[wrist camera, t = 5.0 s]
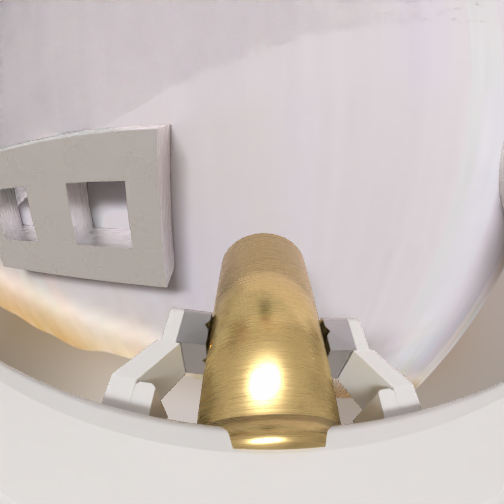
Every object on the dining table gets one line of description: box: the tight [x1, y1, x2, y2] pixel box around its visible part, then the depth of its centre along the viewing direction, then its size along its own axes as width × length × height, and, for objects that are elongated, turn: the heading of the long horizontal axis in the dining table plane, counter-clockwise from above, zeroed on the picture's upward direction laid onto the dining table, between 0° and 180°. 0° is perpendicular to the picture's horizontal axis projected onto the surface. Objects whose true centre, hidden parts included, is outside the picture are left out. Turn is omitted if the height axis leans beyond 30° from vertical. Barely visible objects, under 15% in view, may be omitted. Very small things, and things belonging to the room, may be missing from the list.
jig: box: [0, 124, 175, 287], centre depth 18 cm, size 20×12×3 cm, turn 85°
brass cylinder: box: [197, 233, 341, 450], centre depth 9 cm, size 4×4×9 cm
